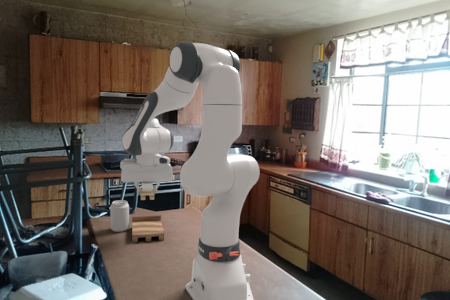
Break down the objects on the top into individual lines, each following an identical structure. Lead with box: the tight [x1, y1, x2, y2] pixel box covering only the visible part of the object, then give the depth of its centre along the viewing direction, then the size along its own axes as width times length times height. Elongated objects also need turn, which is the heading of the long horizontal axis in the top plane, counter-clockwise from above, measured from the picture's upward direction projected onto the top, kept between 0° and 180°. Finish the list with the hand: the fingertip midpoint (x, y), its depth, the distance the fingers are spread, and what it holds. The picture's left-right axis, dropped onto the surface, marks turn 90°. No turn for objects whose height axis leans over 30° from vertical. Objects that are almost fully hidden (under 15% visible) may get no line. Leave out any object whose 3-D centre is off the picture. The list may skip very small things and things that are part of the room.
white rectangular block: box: [141, 182, 154, 191], centre depth 133 cm, size 7×4×3 cm, turn 16°
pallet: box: [139, 185, 155, 201], centre depth 133 cm, size 10×5×3 cm, turn 16°
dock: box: [131, 214, 165, 243], centre depth 135 cm, size 16×12×5 cm
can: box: [109, 199, 130, 233], centre depth 139 cm, size 8×8×12 cm
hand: (147, 192), depth 133 cm, fingers closed on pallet, 5 cm apart
